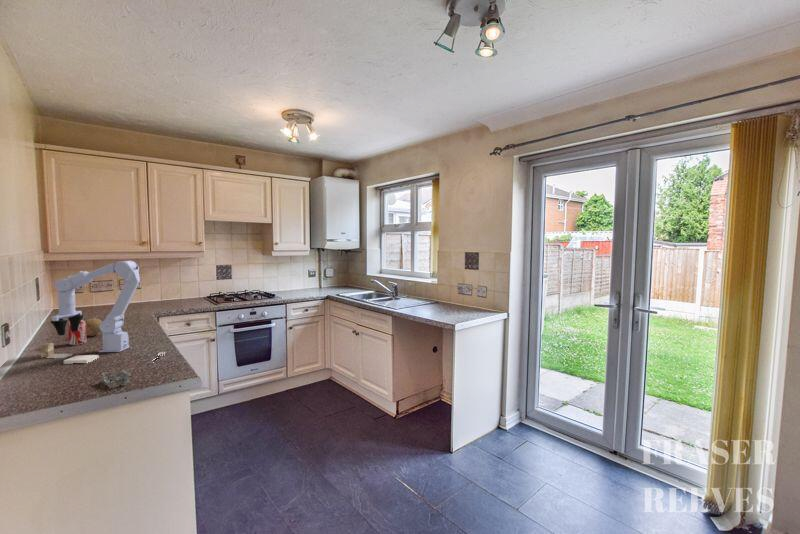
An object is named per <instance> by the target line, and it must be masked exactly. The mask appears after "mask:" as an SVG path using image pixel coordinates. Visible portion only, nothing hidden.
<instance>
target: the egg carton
mask: <svg viewBox="0 0 800 534" xmlns="http://www.w3.org/2000/svg"><path fill="white" fill-rule="evenodd" d="M101 375H102V377H101V382H105V384H107V386H108V387H115V386H117V385H119V384H126V383H128V382H130V381H131V376H132V374H130V373H129V372H128V370H127V369H126V370H123V371H118V372H113V374H110V373H109V372H101ZM121 377H122V378H121ZM108 379H109V380H108ZM110 379H114V380H113V381H114V382H113V381H110ZM112 382H113V383H112ZM105 384H104V385H105ZM107 386H106V387H107ZM117 387H118V386H117Z"/></svg>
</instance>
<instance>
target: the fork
mask: <svg viewBox="0 0 800 534" xmlns="http://www.w3.org/2000/svg"><path fill="white" fill-rule="evenodd" d="M160 354H162V355H163V354H164V355H165V354H166V351H159V352H158V354H157V355H158V356H159V355H160ZM154 358H155V357H154ZM154 358H153V359H152V360H151V361H153V360H155V359H156V358H155V359H154Z"/></svg>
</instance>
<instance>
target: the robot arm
mask: <svg viewBox="0 0 800 534" xmlns="http://www.w3.org/2000/svg"><path fill="white" fill-rule="evenodd" d="M139 272H140V267H139V266H138V264H137V263H136V262H135V261H133V260H125V261H123V260H121V261H118V262H112V263H110V264H109V263H108V264H106V265H104V266H102V267H100V268H97V269H95V270H92V271H85V270H84V271H83V270H80V271H77V273H76V274H74V275H68V276H66V278H59V280H56V281H55V283H54V288H55V290H56V291H57V304H58V305H57V306H58V313H56V315H53V316H51V320H50V323H51V324H52V326H53V328H55V330H56V332H57V335H58V336H65V335H66V326H67V323H68V322H69V321H70V325H71V330H72V331H78V327H79V324H80V322H81V320H83V318H84V315H83V314H82V313H83V312H82V310H76V293H75V291H76V289H77V288H81V287H82V286H84V285H88V284H90V283H92V282H93V281H94V280H95V278H99V277H101V276H105V275H107V274H110V273H112V274H117V275H119V276H120V277H121V278H122V279H123V281H124V282H125V283H124V285H123V287H122V289H121V291H120V293H119V294H118V297H117V299H116V301H115V302H114V305H113V307H112V309H111V311H110V312H109V313H108V314H107V316H105V318H104V320H102V322H101V323H100V326H99V328H100V330H101V334H102V349H101V350H98V353H119V352H122V351H124V350H127V349H129V348H131V346H130V343H129V341H130V340H129V333H128V332H127V331H123V329H122V327H123V326H124V324H125V322H124V319H125V313H126V310H127V309H128V306H129V304H130V303H131V300H132V299H133V296H134V294H135V292H136V290H137V288H138V287H139V284H140V281H141V278H140V273H139ZM66 319H67V320H66Z"/></svg>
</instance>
